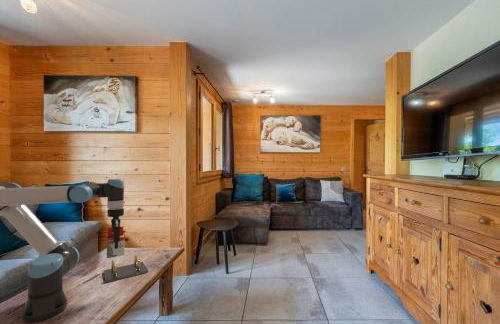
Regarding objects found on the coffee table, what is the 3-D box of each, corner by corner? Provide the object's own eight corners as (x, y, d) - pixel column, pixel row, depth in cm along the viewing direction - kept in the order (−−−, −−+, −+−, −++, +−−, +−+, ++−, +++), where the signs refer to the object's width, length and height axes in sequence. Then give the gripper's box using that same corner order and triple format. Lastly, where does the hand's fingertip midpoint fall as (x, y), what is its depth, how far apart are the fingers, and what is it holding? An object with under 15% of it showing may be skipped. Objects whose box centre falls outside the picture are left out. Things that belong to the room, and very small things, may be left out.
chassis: (105, 282, 130) (105, 269, 130) (103, 272, 143) (103, 260, 143) (148, 272, 143) (148, 260, 143) (142, 263, 156) (142, 252, 156)
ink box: (124, 255, 124) (124, 227, 124) (106, 258, 120) (107, 230, 120) (123, 253, 127) (124, 226, 127) (106, 256, 123) (106, 228, 123)
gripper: (126, 209, 119) (125, 256, 119) (121, 205, 133) (121, 247, 133) (108, 211, 115) (108, 259, 115) (106, 206, 129) (106, 250, 128)
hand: (115, 253), depth 124 cm, fingers closed on ink box, 4 cm apart
